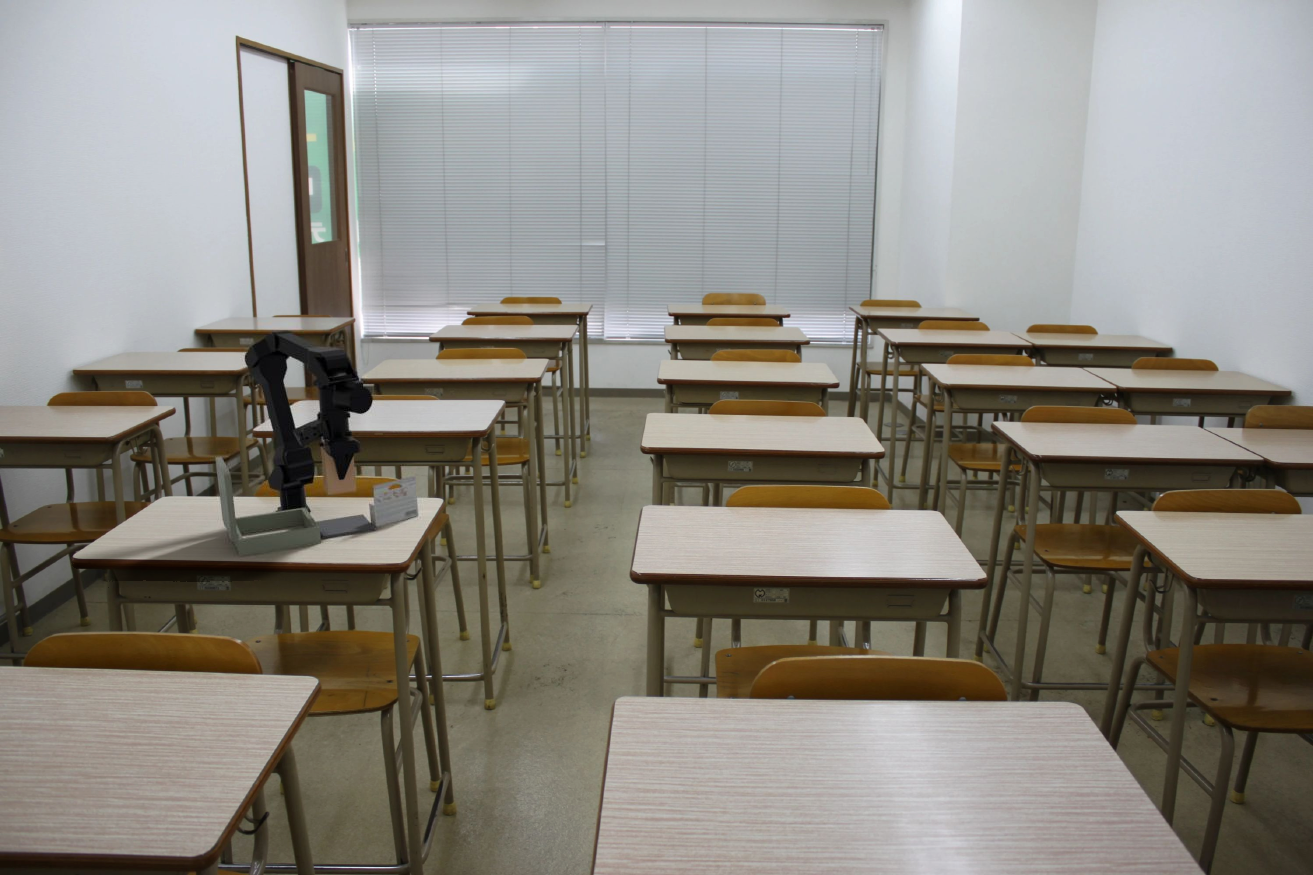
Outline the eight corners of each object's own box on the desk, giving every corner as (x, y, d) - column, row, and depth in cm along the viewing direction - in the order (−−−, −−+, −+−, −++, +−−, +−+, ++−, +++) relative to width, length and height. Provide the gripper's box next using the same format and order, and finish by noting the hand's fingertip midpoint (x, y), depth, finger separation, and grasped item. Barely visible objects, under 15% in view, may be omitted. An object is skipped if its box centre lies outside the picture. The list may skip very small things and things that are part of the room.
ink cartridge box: (370, 525, 216) (366, 483, 213) (413, 514, 224) (410, 473, 221) (375, 527, 214) (372, 485, 212) (419, 516, 222) (416, 475, 220)
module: (324, 490, 212) (320, 444, 210) (352, 486, 215) (348, 441, 213) (328, 494, 209) (324, 448, 206) (356, 490, 212) (352, 445, 209)
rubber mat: (313, 524, 216) (313, 522, 216) (363, 516, 221) (362, 514, 221) (323, 538, 207) (323, 536, 207) (374, 530, 212) (374, 527, 212)
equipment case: (224, 535, 209) (215, 457, 205) (306, 522, 218) (299, 447, 214) (233, 557, 196) (224, 474, 192) (320, 542, 204) (313, 463, 200)
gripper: (286, 404, 212) (293, 472, 215) (302, 420, 196) (309, 493, 200) (338, 399, 217) (344, 465, 221) (358, 414, 201) (363, 485, 205)
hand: (339, 477), depth 211 cm, fingers closed on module, 4 cm apart
